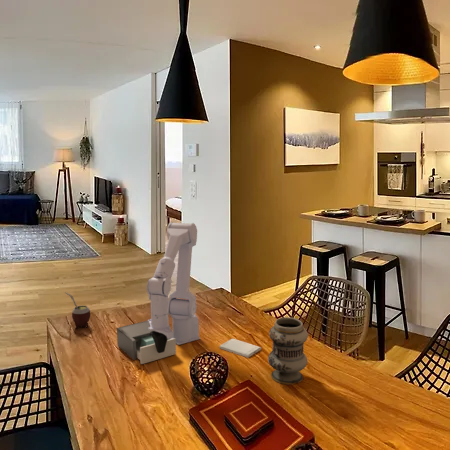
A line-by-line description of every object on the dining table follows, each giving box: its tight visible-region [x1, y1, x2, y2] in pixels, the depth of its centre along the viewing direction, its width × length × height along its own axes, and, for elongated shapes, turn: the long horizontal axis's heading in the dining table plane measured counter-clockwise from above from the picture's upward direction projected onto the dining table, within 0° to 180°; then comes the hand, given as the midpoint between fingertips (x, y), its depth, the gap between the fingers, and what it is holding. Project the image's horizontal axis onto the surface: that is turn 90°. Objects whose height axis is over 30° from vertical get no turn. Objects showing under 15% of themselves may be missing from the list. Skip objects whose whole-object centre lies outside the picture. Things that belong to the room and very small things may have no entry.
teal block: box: [141, 335, 155, 347], centre depth 155 cm, size 4×4×4 cm
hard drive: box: [219, 338, 262, 359], centre depth 159 cm, size 2×8×12 cm
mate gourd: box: [64, 291, 91, 330], centre depth 178 cm, size 8×8×15 cm
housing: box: [116, 320, 169, 361], centre depth 159 cm, size 14×14×7 cm
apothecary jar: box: [267, 316, 309, 385], centre depth 137 cm, size 12×12×18 cm
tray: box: [134, 334, 177, 365], centre depth 156 cm, size 13×17×6 cm
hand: (160, 351), depth 149 cm, fingers closed
